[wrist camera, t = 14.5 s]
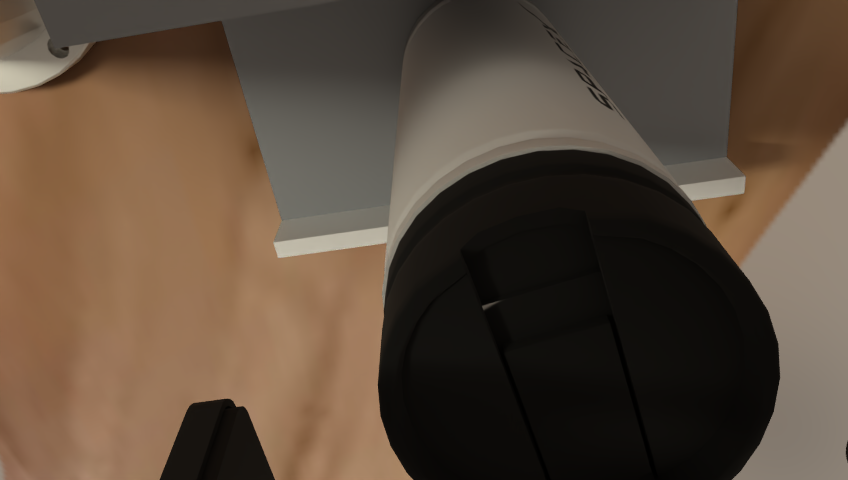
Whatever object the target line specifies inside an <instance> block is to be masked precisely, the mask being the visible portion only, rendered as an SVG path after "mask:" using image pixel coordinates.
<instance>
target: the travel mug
mask: <svg viewBox="0 0 848 480" xmlns="http://www.w3.org/2000/svg"><path fill="white" fill-rule="evenodd" d="M384 271H385V274H384V281H383V291H382V296H383V306H384V321H383V328H382V340H381V352H380V365H379V377H378V392H379V403H380V414H381V419H382V422H383V425H384V428H385V431H386V434H387V436H388V439H389V442H390V445H391V447H392V449H393V451H394V452H395V454H396V456H397V457H398V459H399V460H400V462H401V464H402V465H403V467H404V469H405V470H406V472H407V473H408V475H409V476H410V477H411V478H412V479H413V480H732V479H733V478H734V477H735V476H736V475H737V474H738V473H739V472H740V471H741V470H742V468H743V467H744V465H745V464H746V463H747V461H748V460H749V458H750V457H751V455H752V454H753V453H754V451H755V450H756V448H757V447H758V446H759V444H760V442H761V440H762V438H763V435H764V433H765V430H766V428H767V426H768V424H769V421H770V419H771V417H772V414H773V412H774V407H775V402H776V396H777V391H778V386H779V380H780V367H779V348H778V341H777V338H776V335H775V332H774V329H773V325H772V322H771V319H770V316H769V312H768V310H767V309H766V307H765V305H764V304H763V302H762V300H761V299H760V297H759V296H758V294H757V292H756V291H755V289H754V287H753V286H752V284H751V282H750V281H749V280H748V278H747V277H746V276H745V275H744V273H743V272H742V271H741V269H740V268H739V267H738V266H737V264H736V263H735V262H734V260H733V259H732V258H731V257H730V255H729V254H728V253H727V251H726V250H725V249H724V248H723V246H722V245H721V244H720V242H719V241H718V240H717V238H716V237H715V236H714V235H713V233H712V232H711V231H710V230H709V229H708V228H707V227H706V224H705V223H704V221H703V219H702V218H701V216H700V214H699V213H698V211H697V209H696V208H695V206H694V204H693V203H692V201H691V200H690V198H689V197H688V196H687V195H686V193H685V192H684V191H683V190H682V189H681V188H680V187H679V186H678V184H677V183H676V181H675V179H674V178H673V177H672V176H671V174H670V173H669V172H668V171H667V169H666V168H665V167H664V166H663V164H662V163H661V162H660V161H659V159H658V158H657V157H656V155H655V154H654V153H653V152H652V150H651V149H650V148H649V147H648V145H647V144H646V143H645V142H644V140H643V139H642V138H641V137H640V135H639V134H638V133H637V131H636V130H635V129H634V128H633V126H632V125H631V124H630V123H629V121H628V120H627V119H626V118H625V116H624V115H623V114H622V113H621V111H620V110H619V109H618V107H617V106H616V105H615V104H614V102H613V101H612V100H611V99H610V97H609V96H608V95H607V94H606V92H605V91H604V90H603V89H602V87H601V86H600V85H599V83H598V82H597V81H596V80H595V78H594V77H593V76H592V75H591V73H590V72H589V71H588V70H587V68H586V67H585V66H584V65H583V63H582V62H581V61H580V59H579V58H578V57H577V56H576V54H575V53H574V52H573V51H572V49H571V48H570V47H569V46H568V44H567V43H566V42H565V41H564V39H563V38H562V37H561V36H560V34H559V33H558V32H557V30H556V29H555V28H554V27H553V25H552V24H551V23H550V22H549V21H548V19H547V18H546V17H545V15H544V14H543V13H542V12H541V11H540V10H539V9H538V8H537V7H536V6H535V5H534V4H533V3H532V2H531V1H530V0H437V1H435V2H434V3H433V4H431V5H430V6H429V7H428V8H427V9H426V10H425V11H424V12H423V14H422V15H421V16H420V17H419V18H418V19H417V21H416V23H415V25H414V26H413V28H412V30H411V32H410V34H409V37H408V40H407V42H406V45H405V49H404V57H403V65H402V76H401V88H400V99H399V110H398V121H397V133H396V144H395V155H394V167H393V178H392V189H391V201H390V212H389V223H388V235H387V246H386V257H385V268H384Z"/></svg>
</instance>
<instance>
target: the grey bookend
mask: <svg viewBox="0 0 848 480" xmlns="http://www.w3.org/2000/svg"><path fill="white" fill-rule="evenodd" d="M435 1H437V0H34V2H35V4H36V6H37V9H38V11H39V13H40V16H41V18H42V20H43V23H44V25H45V27H46V30H47V32H48V34H49V37H50V39H51V41H52V43H53V46H54V48H55V49H56V48H62V47H68V46H74V45H80V44H86V43H92V42H98V41H104V40H110V39H116V38H122V37H128V36H134V35H139V34H145V33H151V32H157V31H163V30H169V29H175V28H181V27H187V26H193V25H199V24H205V23H211V22H217V21H222V24H223V27H224V31H225V34H226V37H227V41H228V44H229V47H230V50H231V54H232V57H233V60H234V64H235V67H236V70H237V74H238V77H239V80H240V84H241V87H242V90H243V94H244V97H245V100H246V103H247V107H248V110H249V113H250V117H251V120H252V123H253V127H254V130H255V133H256V137H257V140H258V143H259V146H260V150H261V153H262V156H263V160H264V163H265V166H266V170H267V173H268V176H269V180H270V183H271V186H272V189H273V193H274V196H275V199H276V203H277V206H278V209H279V213H280V216H281V219H282V222H281V224H280V227H279V229H278V232H277V235H276V237H275V240H274V242H273V243H274V246H275V249H276V252H277V255H278V258H282V257H289V256H296V255H304V254H311V253H318V252H325V251H332V250H340V249H347V248H354V247H361V246H369V245H376V244H383V243H387V235H388V223H389V212H390V201H391V189H392V178H393V167H394V155H395V144H396V133H397V121H398V110H399V99H400V88H401V76H402V65H403V57H404V49H405V45H406V42H407V40H408V37H409V34H410V32H411V30H412V28H413V26H414V25H415V23H416V21H417V19H418V18H419V17H420V16H421V15H422V14H423V12H424V11H425V10H426V9H427V8H428V7H429V6H430V5H431V4H433V3H434V2H435ZM530 1H531V2H532V3H533V4H534V5H535V6H536V7H537V8H538V9H539V10H540V11H541V12H542V13H543V14H544V15H545V17H546V18H547V19H548V21H549V22H550V23H551V24H552V25H553V27H554V28H555V29H556V30H557V32H558V33H559V34H560V36H561V37H562V38H563V39H564V41H565V42H566V43H567V44H568V46H569V47H570V48H571V49H572V51H573V52H574V53H575V54H576V56H577V57H578V58H579V59H580V61H581V62H582V63H583V65H584V66H585V67H586V68H587V70H588V71H589V72H590V73H591V75H592V76H593V77H594V78H595V80H596V81H597V82H598V83H599V85H600V86H601V87H602V89H603V90H604V91H605V92H606V94H607V95H608V96H609V97H610V99H611V100H612V101H613V102H614V104H615V105H616V106H617V107H618V109H619V110H620V111H621V113H622V114H623V115H624V116H625V118H626V119H627V120H628V121H629V123H630V124H631V125H632V126H633V128H634V129H635V130H636V131H637V133H638V134H639V135H640V137H641V138H642V139H643V140H644V142H645V143H646V144H647V145H648V147H649V148H650V149H651V150H652V152H653V153H654V154H655V155H656V157H657V158H658V159H659V161H660V162H661V163H662V164H663V166H664V167H665V168H666V169H667V171H668V172H669V173H670V174H671V176H672V177H673V178H674V179H675V181H676V183H677V184H678V186H679V187H680V188H681V189H682V190H683V191H684V192H685V193H686V195H687V196H688V197H689V198H690V200H691V201H693V200H701V199H708V198H715V197H722V196H730V195H737V194H744V190H745V179H746V176H745V175H744V174H743V173H742V172H741V171H740V170H739V169H738V168H737V167H736V166H735V165H734V164H733V163H732V162H731V161H730V160H729V159H728V158H727V146H728V132H729V118H730V104H731V90H732V76H733V62H734V48H735V34H736V20H737V5H738V0H530Z"/></svg>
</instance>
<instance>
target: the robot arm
mask: <svg viewBox="0 0 848 480" xmlns="http://www.w3.org/2000/svg"><path fill="white" fill-rule="evenodd" d="M95 43H96V42H92V43H86V44H80V45H74V46H69V48H68V47H62V48H56V49H55V48H54V46H53V43H52V41H51V39H50V37H49V34H48V32H47V30H46V27H45V25H44V23H43V20H42V18H41V16H40V13H39V11H38V9H37V6H36V4H35V2H34V0H0V94H7V93H16V92H20V91H24V90H27V89H31V88H34V87H38V86H40V85H42V84H44V83H46V82H48V81H50V80H52V79H54V78H56V77H57V76H59V75H61V74H62V73H64V72H65V71H67V70H68V69H69V68H71V67H72V66H74V65H75V64H76V63H78V62H79V61H80V60H81V59H82V58H83V57H84V55H85V54H86V53H87V52H88V51H89V50H90V49H91V47H92V46H93V45H94V44H95ZM846 457H847V461H848V442H847V447H846ZM160 480H275V479H274V476H273V474H272V471H271V469H270V466H269V464H268V461H267V459H266V456H265V454H264V451H263V449H262V446H261V444H260V441H259V439H258V436H257V434H256V431H255V429H254V426H253V424H252V421H251V419H250V416H249V414H248V412H247V410H246V408H245V407H243V406H241V407H236V406H235V404H234V402H233V401H232V400H231V399H221V400H214V401H206V402H199V403H193V404H192V405H190V406H189V408H188V410H187V412H186V414H185V417H184V419H183V422H182V424H181V427H180V430H179V432H178V435H177V437H176V440H175V442H174V445H173V447H172V450H171V452H170V455H169V457H168V460H167V462H166V465H165V468H164V470H163V473H162V475H161V478H160Z"/></svg>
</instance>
